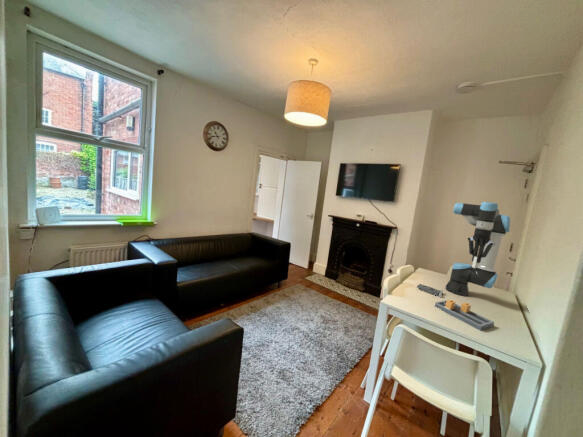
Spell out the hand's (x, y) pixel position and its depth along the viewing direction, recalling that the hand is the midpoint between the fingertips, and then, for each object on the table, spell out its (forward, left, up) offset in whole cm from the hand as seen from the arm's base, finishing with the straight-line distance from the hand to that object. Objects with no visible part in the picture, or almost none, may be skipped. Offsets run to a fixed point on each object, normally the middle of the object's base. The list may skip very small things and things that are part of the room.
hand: (474, 267), depth 136 cm
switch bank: (-1, -1, -32) cm, 32 cm away
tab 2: (-5, -2, -30) cm, 30 cm away
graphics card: (-16, -32, -33) cm, 48 cm away
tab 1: (+2, -7, -30) cm, 31 cm away
